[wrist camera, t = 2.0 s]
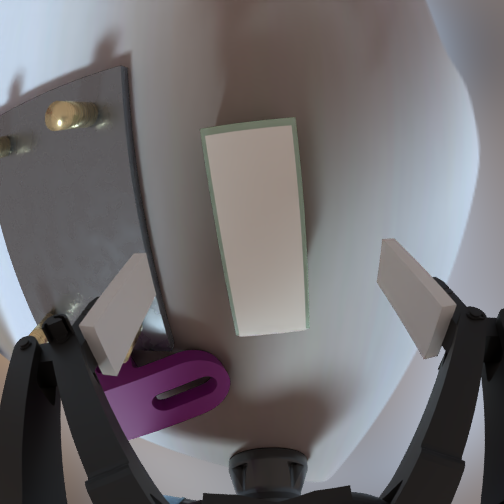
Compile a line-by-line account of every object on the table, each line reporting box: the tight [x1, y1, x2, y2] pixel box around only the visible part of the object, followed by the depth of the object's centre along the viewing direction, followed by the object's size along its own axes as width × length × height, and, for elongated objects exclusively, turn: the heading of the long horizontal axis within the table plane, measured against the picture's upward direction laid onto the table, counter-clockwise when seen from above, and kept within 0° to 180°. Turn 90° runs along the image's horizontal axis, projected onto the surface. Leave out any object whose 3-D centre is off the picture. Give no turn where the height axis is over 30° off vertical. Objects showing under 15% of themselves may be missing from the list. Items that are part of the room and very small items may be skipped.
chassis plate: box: [0, 66, 174, 363], centre depth 24 cm, size 30×20×6 cm, turn 4°
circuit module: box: [200, 117, 309, 337], centre depth 23 cm, size 16×6×8 cm, turn 7°
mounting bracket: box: [95, 350, 230, 440], centre depth 34 cm, size 9×8×18 cm
